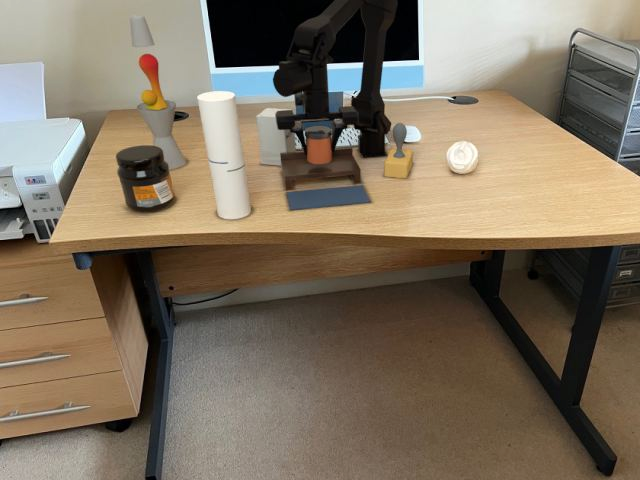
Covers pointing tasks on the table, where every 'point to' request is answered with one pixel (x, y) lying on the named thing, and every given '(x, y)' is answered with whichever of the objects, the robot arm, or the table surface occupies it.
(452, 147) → the cream swirled ball
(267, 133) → the white packaging box
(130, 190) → the supplement container
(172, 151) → the lava lamp
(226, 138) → the cylindrical container
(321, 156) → the jar
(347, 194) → the mat
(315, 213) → the table surface
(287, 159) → the shelf
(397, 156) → the rubber stamp
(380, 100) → the robot arm
